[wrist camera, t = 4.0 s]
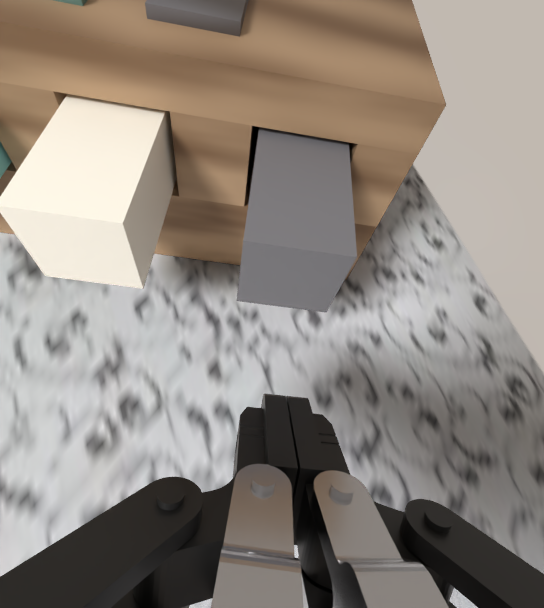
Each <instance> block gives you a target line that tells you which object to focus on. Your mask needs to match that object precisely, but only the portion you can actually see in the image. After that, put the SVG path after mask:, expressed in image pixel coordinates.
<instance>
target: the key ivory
mask: <svg viewBox="0 0 544 608" xmlns="http://www.w3.org/2000/svg"><path fill="white" fill-rule="evenodd" d="M176 179H177V173H176V163H175V154H174V145H173V136H172V127H171V118H170V111H164V110H159V109H153V108H147V107H141V106H135V105H130V104H124V103H118V102H112V101H106V100H101V99H95V98H89V97H83V96H77V95H72V94H67V96H66V97H65V99H64V100H63V102H62V103H61V105H60V106H59V108H58V109H57V111H56V112H55V114H54V115H53V117H52V118H51V120H50V122H49V123H48V125H47V126H46V128H45V129H44V131H43V132H42V134H41V135H40V137H39V138H38V140H37V141H36V143H35V144H34V146H33V147H32V149H31V150H30V152H29V154H28V155H27V157H26V158H25V160H24V161H23V163H22V164H21V166H20V167H19V169H18V170H17V172H16V173H15V175H14V176H13V178H12V179H11V181H10V183H9V184H8V186H7V187H6V189H5V190H4V192H3V193H2V195H1V196H0V213H1V215H2V216H3V217H4V219H5V220H6V222H7V223H8V224H9V226H10V227H11V229H12V230H13V231H14V233H15V234H16V236H17V237H18V238H19V240H20V241H21V243H22V244H23V245H24V247H25V248H26V250H27V251H28V252H29V254H30V255H31V257H32V258H33V259H34V261H35V262H36V264H37V265H38V266H39V268H40V269H41V271H42V272H43V273H44V275H45V276H49V277H56V278H64V279H72V280H80V281H87V282H95V283H103V284H111V285H118V286H126V287H134V288H141V289H143V288H144V285H145V281H146V278H147V275H148V271H149V268H150V265H151V262H152V258H153V255H154V252H155V248H156V245H157V242H158V238H159V235H160V232H161V228H162V225H163V222H164V219H165V215H166V212H167V209H168V205H169V202H170V199H171V195H172V192H173V189H174V186H175V182H176Z"/></svg>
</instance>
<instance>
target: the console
mask: <svg viewBox="0 0 544 608" xmlns="http://www.w3.org/2000/svg"><path fill="white" fill-rule="evenodd" d="M67 94H72V95H77V96H83V97H89V98H95V99H101V100H106V101H112V102H118V103H124V104H130V105H135V106H141V107H147V108H153V109H159V110H164V111H170V118H171V127H172V136H173V145H174V154H175V163H176V173H177V179H176V182H175V186H174V189H173V192H172V195H171V199H170V202H169V205H168V209H167V212H166V215H165V219H164V222H163V225H162V228H161V232H160V235H159V238H158V242H157V245H156V248H155V252H154V253H155V254H162V255H169V256H177V257H184V258H191V259H198V260H206V261H213V262H220V263H227V264H235V265H241V257H242V248H243V239H244V232H245V225H246V218H247V211H248V204H249V196H250V189H251V182H252V175H253V168H254V161H255V154H256V147H257V139H258V132H259V127H263V128H269V129H274V130H280V131H286V132H292V133H297V134H303V135H309V136H315V137H321V138H326V139H332V140H338V141H344V142H349V153H350V167H351V180H352V194H353V208H354V222H355V235H356V249H357V258H356V260H355V262H354V264H353V265H352V267H351V269H350V271H349V273H348V274H347V276H346V278H345V280H347V278H348V276H349V275H350V273H351V271H352V269H353V268H354V266H355V264H356V262H357V261H358V259H359V257H360V255H361V254H362V252H363V250H364V248H365V247H366V245H367V243H368V241H369V240H370V238H371V236H372V234H373V232H374V231H375V229H376V227H377V225H378V224H379V222H380V220H381V218H382V217H383V215H384V213H385V211H386V210H387V208H388V206H389V204H390V203H391V201H392V199H393V197H394V196H395V194H396V192H397V190H398V189H399V187H400V185H401V183H402V182H403V180H404V178H405V176H406V175H407V173H408V171H409V169H410V168H411V166H412V164H413V162H414V160H415V159H416V157H417V155H418V154H419V152H420V150H421V148H422V147H423V145H424V143H425V141H426V139H427V138H428V136H429V134H430V132H431V131H432V129H433V127H434V125H435V124H436V122H437V120H438V118H439V116H440V115H441V113H442V111H443V109H444V108H445V106H446V103H445V100H444V97H443V94H442V91H441V88H440V85H439V81H438V78H437V75H436V72H435V69H434V66H433V63H432V60H431V57H430V54H429V51H428V48H427V45H426V42H425V39H424V36H423V33H422V30H421V27H420V24H419V21H418V18H417V15H416V12H415V9H414V5H413V3H412V0H0V142H1V143H2V145H3V147H4V149H5V150H6V152H7V154H8V156H9V157H10V159H11V161H12V162H11V163H10V165H9V166H8V168H7V169H6V171H5V172H4V174H3V175H2V177H1V178H0V196H1V195H2V193H3V192H4V190H5V189H6V187H7V186H8V184H9V183H10V181H11V179H12V178H13V176H14V175H15V173H16V172H17V170H18V169H19V167H20V166H21V164H22V163H23V161H24V160H25V158H26V157H27V155H28V154H29V152H30V150H31V149H32V147H33V146H34V144H35V143H36V141H37V140H38V138H39V137H40V135H41V134H42V132H43V131H44V129H45V128H46V126H47V125H48V123H49V122H50V120H51V118H52V117H53V115H54V114H55V112H56V111H57V109H58V108H59V106H60V105H61V103H62V102H63V100H64V99H65V97H66V96H67ZM0 232H3V233H10V234H15V233H14V231H13V230H12V229H11V227H10V226H9V224H8V223H7V222H6V220H5V219H4V217H3V216H2V215H1V213H0Z"/></svg>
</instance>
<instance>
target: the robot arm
mask: <svg viewBox="0 0 544 608" xmlns="http://www.w3.org/2000/svg"><path fill="white" fill-rule="evenodd" d="M294 545H298V553H299V556H298V558H295V557H294ZM454 588H455V589H457V590H458V591H459V592H460V593H462V594H463V595H464V596H465V597H466V598H468V599H469V600H470V601H471V602H472V603H474V604H475V605H476V606H477V607H478V608H544V574H543V573H541V572H540V571H538V570H537V569H535V568H534V567H532V566H531V565H529V564H528V563H526V562H525V561H524V560H522V559H521V558H519V557H518V556H516V555H515V554H513V553H512V552H510V551H509V550H507V549H506V548H505V547H503V546H502V545H500V544H499V543H497V542H496V541H494V540H493V539H491V538H490V537H489V536H487V535H486V534H484V533H483V532H481V531H480V530H478V529H477V528H475V527H474V526H472V525H471V524H470V523H468V522H467V521H465V520H464V519H462V518H461V517H459V516H458V515H456V514H455V513H453V512H452V511H451V510H449V509H447V508H446V507H444V506H442V505H440V504H438V503H436V502H433V501H430V500H425V499H416V500H412V501H410V502H409V503H408V504H407V506H406V508H405V512H401V511H398V510H395V509H392V508H390V507H387V506H384V505H381V504H379V503H376V502H374V501H373V500H372V498H371V496H370V494H369V492H368V490H367V489H366V487H365V486H364V485H363V484H362V483H361V482H360V481H359V480H358V479H356V478H355V477H353V476H352V475H350V473H349V470H348V467H347V464H346V462H345V459H344V456H343V454H342V451H341V448H340V446H339V443H338V440H337V437H335V432H334V429H333V426H332V424H331V423H330V422H329V421H328V420H327V419H326V418H325V417H324V416H323V415H320V414H313V413H312V410H311V406H310V403H309V400H308V398H300V397H291V396H286V397H285V396H281V395H272V394H264V395H263V399H262V406H261V408H253V407H247V408H246V409H245V410H244V411H243V412H242V414H241V415H240V421H239V428H238V435H237V442H236V450H235V458H234V471H233V479H232V480H231V481H230V482H229V483H228V484H227V485H225V486H224V487H222V488H219V489H217V490H213V491H208V492H203V493H202V492H201V490H200V488H199V487H198V486H197V485H196V484H195V483H193V482H192V481H190V480H188V479H185V478H181V477H166V478H162V479H159V480H156V481H154V482H152V483H150V484H149V485H147V486H145V487H144V488H142V489H141V490H139V491H137V492H136V493H134V494H133V495H131V496H129V497H128V498H126V499H125V500H123V501H121V502H120V503H118V504H117V505H115V506H113V507H112V508H110V509H109V510H107V511H105V512H104V513H102V514H100V515H99V516H97V517H96V518H94V519H92V520H91V521H89V522H88V523H86V524H84V525H83V526H81V527H80V528H78V529H76V530H75V531H73V532H72V533H70V534H68V535H67V536H65V537H64V538H62V539H60V540H59V541H57V542H55V543H54V544H52V545H51V546H49V547H47V548H46V549H44V550H43V551H41V552H39V553H38V554H36V555H35V556H33V557H31V558H30V559H28V560H27V561H25V562H23V563H22V564H20V565H19V566H17V567H15V568H14V569H12V570H10V571H9V572H7V573H6V574H4V575H2V576H1V577H0V608H189V606H190V605H191V604H195V603H198V602H201V601H204V600H207V599H211V598H213V599H212V605H211V608H456V607H455V606H454V605H453V604H452V603H451V602H450V601H449V600H450V597H451V594H452V591H453V589H454Z"/></svg>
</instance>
